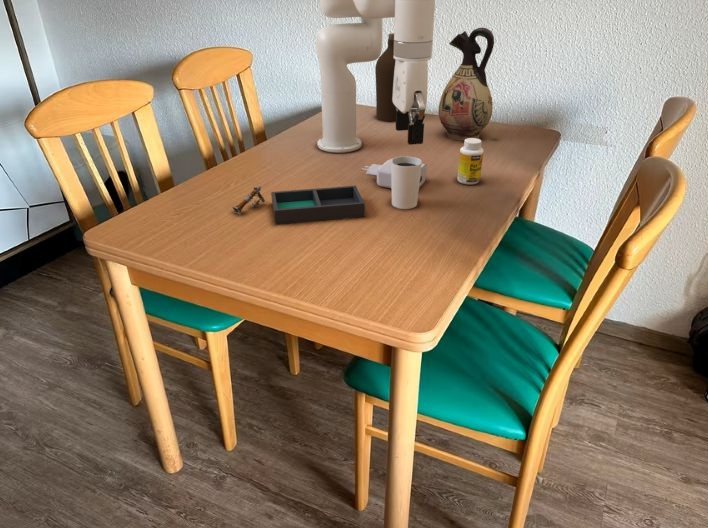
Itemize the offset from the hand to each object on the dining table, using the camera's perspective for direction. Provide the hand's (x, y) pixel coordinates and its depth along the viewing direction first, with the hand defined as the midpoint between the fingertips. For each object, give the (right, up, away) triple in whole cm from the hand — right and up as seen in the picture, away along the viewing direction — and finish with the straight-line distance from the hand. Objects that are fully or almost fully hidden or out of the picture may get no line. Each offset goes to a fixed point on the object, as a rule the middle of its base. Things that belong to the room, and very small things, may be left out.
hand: (408, 136), depth 122 cm
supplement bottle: (+17, -5, +20) cm, 27 cm away
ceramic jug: (+21, +14, +49) cm, 55 cm away
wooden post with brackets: (-35, -14, +7) cm, 39 cm away
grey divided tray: (-20, -15, +6) cm, 25 cm away
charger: (-3, -6, +20) cm, 21 cm away
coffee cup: (0, -13, +9) cm, 16 cm away
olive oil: (+1, +25, +65) cm, 69 cm away
